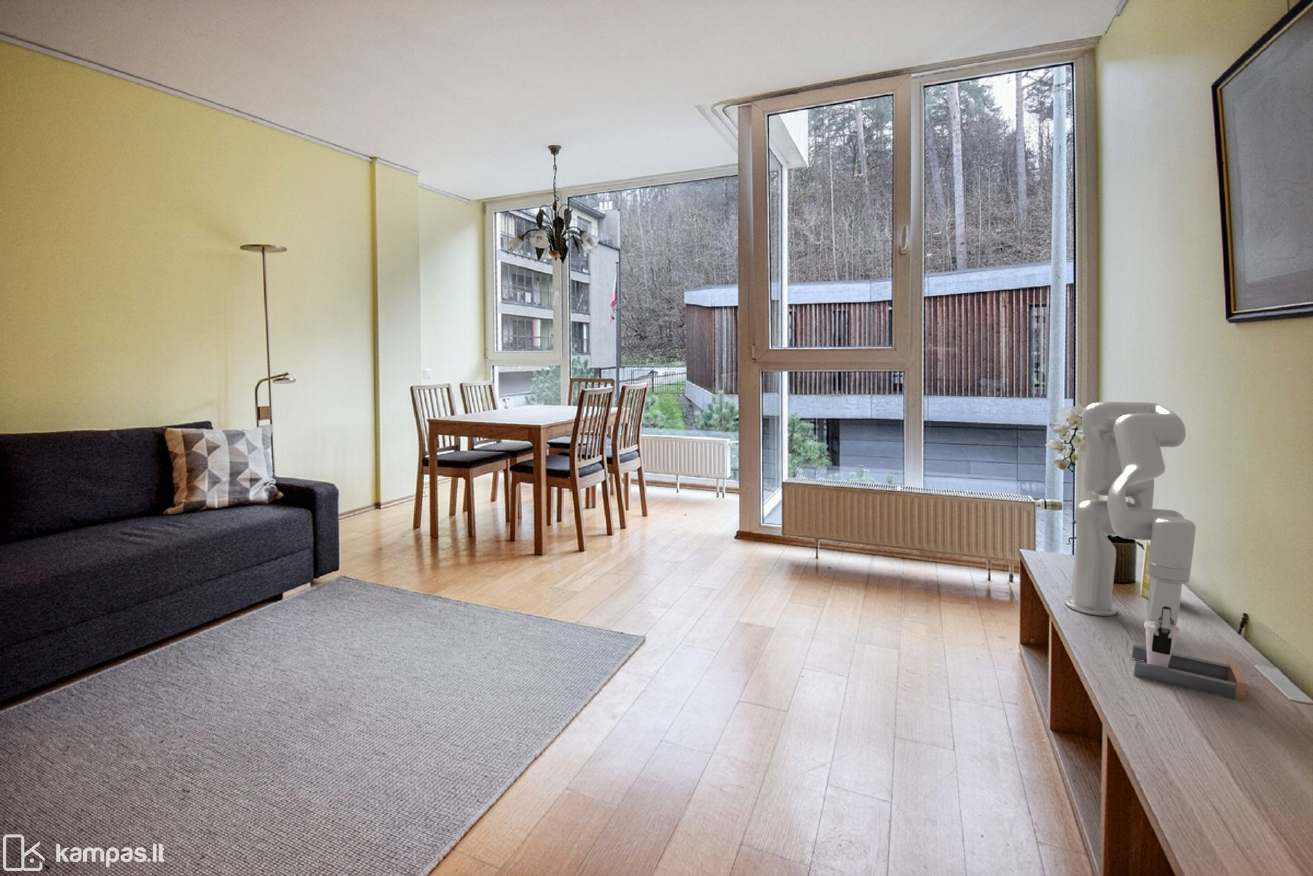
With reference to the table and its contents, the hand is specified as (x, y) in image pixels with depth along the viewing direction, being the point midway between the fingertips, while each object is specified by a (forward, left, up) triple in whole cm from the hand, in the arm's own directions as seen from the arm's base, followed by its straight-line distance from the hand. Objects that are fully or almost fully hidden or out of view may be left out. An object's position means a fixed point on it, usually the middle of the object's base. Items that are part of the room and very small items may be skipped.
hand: (1159, 646), depth 144 cm
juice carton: (-56, +4, -6) cm, 56 cm away
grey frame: (0, +4, -6) cm, 7 cm away
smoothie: (0, 0, -5) cm, 5 cm away
